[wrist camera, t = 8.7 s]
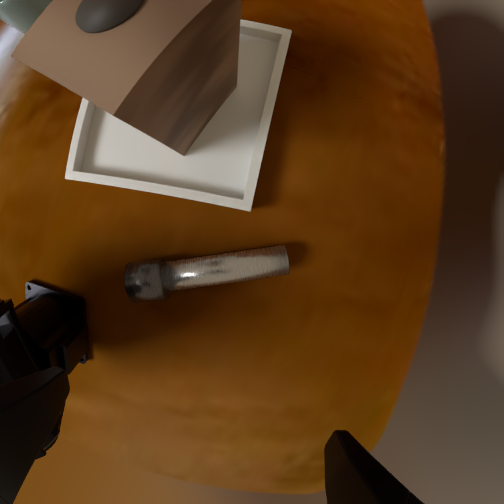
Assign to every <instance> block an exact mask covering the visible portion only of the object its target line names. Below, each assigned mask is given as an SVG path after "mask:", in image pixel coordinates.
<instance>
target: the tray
mask: <svg viewBox="0 0 504 504" xmlns="http://www.w3.org/2000/svg"><path fill="white" fill-rule="evenodd" d="M291 33H292V30H289V29H285V28H280V27H276V26H272V25H267V24H262V23H257V22H252V21H247V20H240V37H239V55H238V75H237V87H236V88H235V90H234V91H233V92H232V93H231V94H230V96H229V97H228V98H227V99H226V101H225V102H224V103H223V104H222V106H221V107H220V108H219V110H218V111H217V112H216V113H215V115H214V116H213V117H212V119H211V120H210V121H209V122H208V124H207V125H206V126H205V128H204V129H203V131H202V132H201V133H200V135H199V136H198V137H197V139H196V140H195V141H194V143H193V144H192V146H191V147H190V148H189V150H188V151H187V153H186V154H185V156H183V155H181V154H179V153H178V152H176V151H174V150H173V149H171V148H169V147H167V146H166V145H164V144H162V143H161V142H159V141H157V140H155V139H154V138H152V137H150V136H148V135H147V134H145V133H143V132H141V131H140V130H138V129H136V128H134V127H132V126H131V125H129V124H127V123H125V122H123V121H122V120H120V119H118V118H116V117H114V116H113V115H111V114H109V113H108V112H106V111H104V110H103V109H101V108H100V107H98V106H96V105H95V104H93V103H91V102H90V101H88V100H86V99H85V98H83V99H82V103H81V106H80V110H79V113H78V117H77V121H76V125H75V129H74V133H73V138H72V142H71V147H70V152H69V157H68V162H67V168H66V174H65V179H70V180H77V181H84V182H91V183H98V184H104V185H110V186H117V187H123V188H129V189H135V190H141V191H146V192H152V193H158V194H163V195H169V196H174V197H180V198H185V199H190V200H196V201H201V202H206V203H211V204H216V205H221V206H226V207H231V208H236V209H241V210H245V211H251V207H252V202H253V198H254V193H255V189H256V184H257V180H258V175H259V171H260V166H261V162H262V157H263V153H264V148H265V144H266V140H267V135H268V131H269V127H270V122H271V118H272V113H273V109H274V105H275V100H276V96H277V92H278V88H279V83H280V79H281V75H282V70H283V66H284V62H285V58H286V54H287V49H288V45H289V41H290V37H291Z"/></svg>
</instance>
